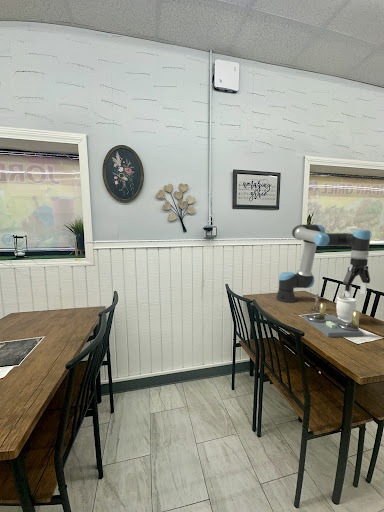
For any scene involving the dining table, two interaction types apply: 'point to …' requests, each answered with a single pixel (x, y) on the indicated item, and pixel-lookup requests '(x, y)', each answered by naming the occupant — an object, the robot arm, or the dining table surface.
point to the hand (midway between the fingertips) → (355, 295)
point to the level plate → (331, 330)
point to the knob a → (321, 316)
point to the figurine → (316, 302)
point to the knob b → (354, 322)
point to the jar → (345, 308)
